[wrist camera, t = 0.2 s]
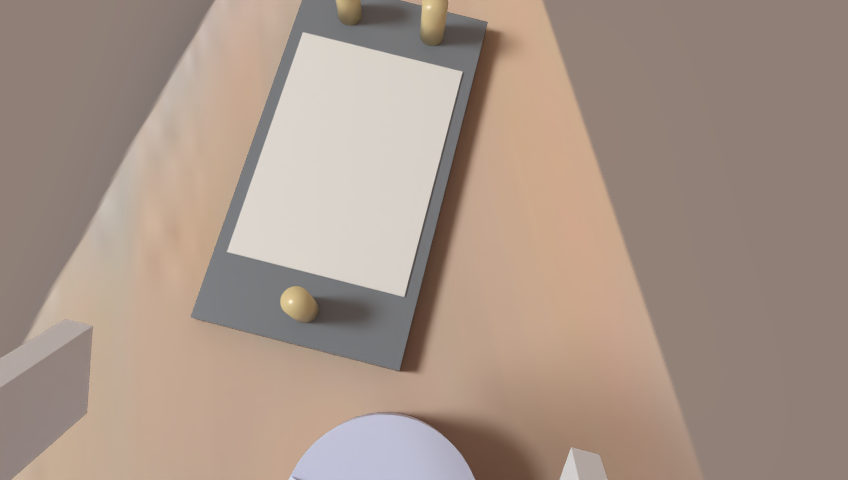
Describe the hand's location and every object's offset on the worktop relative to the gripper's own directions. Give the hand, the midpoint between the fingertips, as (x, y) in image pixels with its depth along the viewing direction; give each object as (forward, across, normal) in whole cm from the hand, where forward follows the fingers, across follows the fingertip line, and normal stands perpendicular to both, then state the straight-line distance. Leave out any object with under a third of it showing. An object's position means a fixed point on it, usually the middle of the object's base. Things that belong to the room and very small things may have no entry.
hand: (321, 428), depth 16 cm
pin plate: (+20, +4, -3) cm, 20 cm away
